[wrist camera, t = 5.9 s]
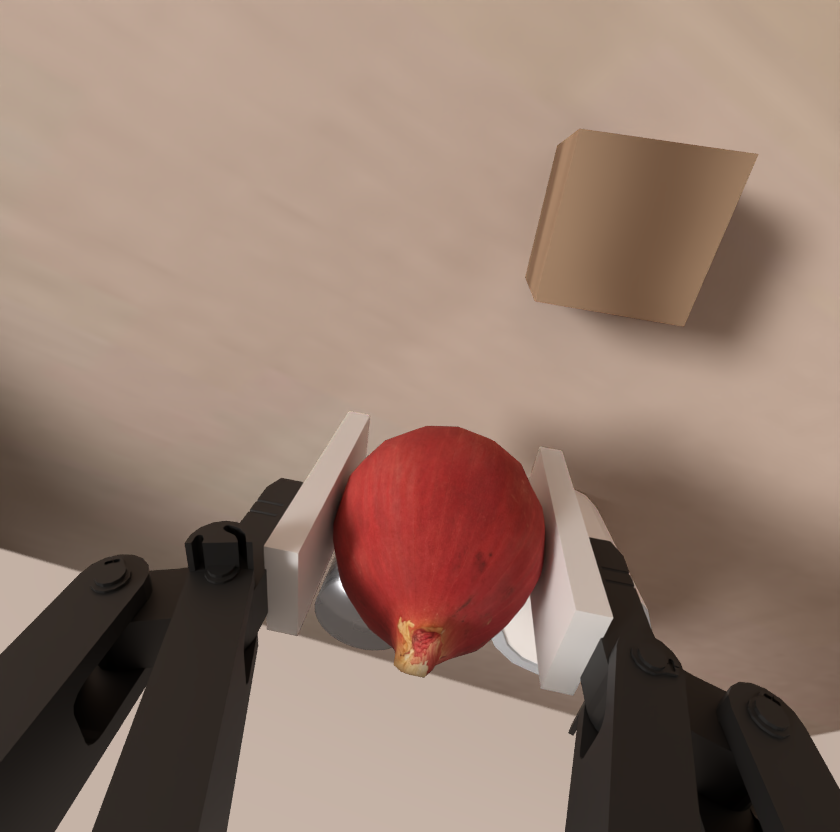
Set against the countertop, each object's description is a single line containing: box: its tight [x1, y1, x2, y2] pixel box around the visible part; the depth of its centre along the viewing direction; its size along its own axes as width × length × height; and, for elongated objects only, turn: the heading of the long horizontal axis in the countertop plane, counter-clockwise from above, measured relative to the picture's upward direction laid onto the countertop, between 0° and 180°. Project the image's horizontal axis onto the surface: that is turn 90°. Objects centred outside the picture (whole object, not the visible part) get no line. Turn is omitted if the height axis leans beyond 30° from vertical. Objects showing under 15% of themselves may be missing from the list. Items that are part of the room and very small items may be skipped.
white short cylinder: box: [492, 490, 651, 675], centre depth 22 cm, size 7×7×7 cm
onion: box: [333, 426, 545, 678], centre depth 12 cm, size 6×6×8 cm
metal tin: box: [315, 555, 392, 650], centre depth 25 cm, size 5×5×6 cm
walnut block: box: [525, 129, 758, 327], centre depth 16 cm, size 5×5×5 cm
